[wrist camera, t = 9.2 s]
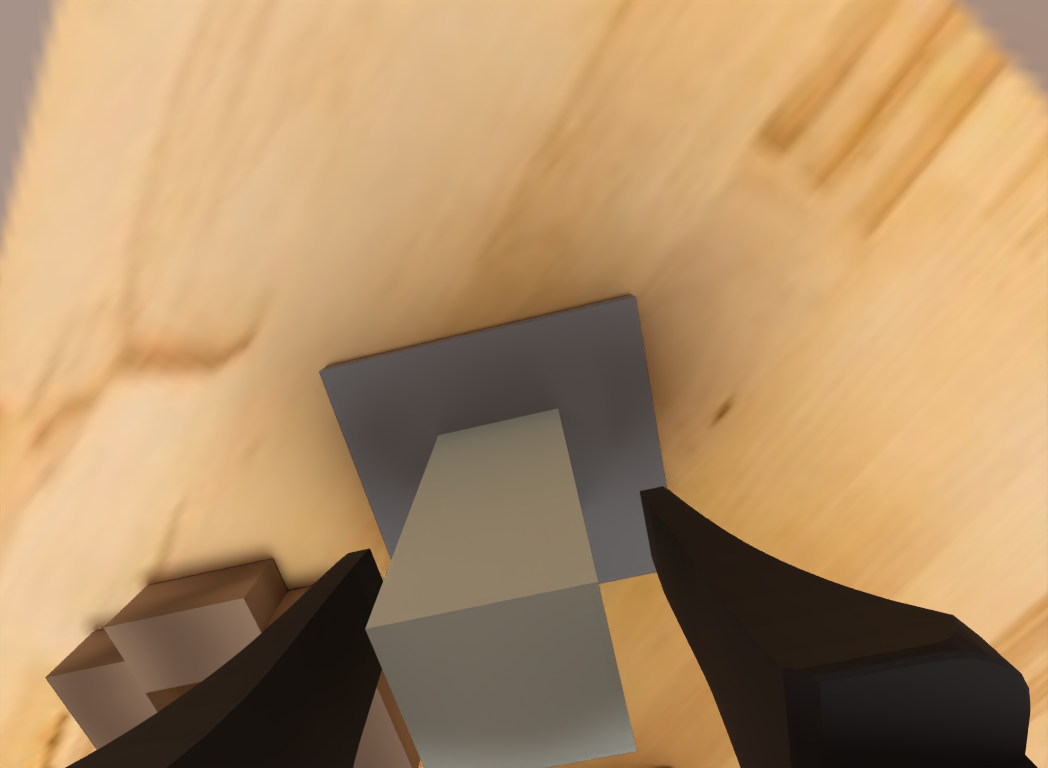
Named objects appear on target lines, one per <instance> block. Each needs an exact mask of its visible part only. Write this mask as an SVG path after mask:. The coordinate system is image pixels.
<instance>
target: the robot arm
mask: <svg viewBox="0 0 1048 768" xmlns="http://www.w3.org/2000/svg"><path fill="white" fill-rule="evenodd" d="M640 496H641V502H642V507H643V513H644V518H645V524H646V529H647V535H648V540H649V545H650V551H651V556H652V560H653V562H654V565H655V568H656V571H657V574H658V577H659V580H660V582H661V585H662V588H663V591H664V593H665V595H666V598H667V600H668V602H669V604H670V606H671V608H672V610H673V612H674V614H675V616H676V618H677V620H678V622H679V624H680V626H681V628H682V630H683V633H684V635H685V637H686V639H687V641H688V643H689V645H690V647H691V649H692V651H693V653H694V655H695V657H696V659H697V661H698V663H699V665H700V667H701V669H702V671H703V673H704V675H705V678H706V680H707V682H708V684H709V687H710V689H711V691H712V694H713V696H714V699H715V701H716V704H717V706H718V709H719V712H720V714H721V717H722V719H723V722H724V725H725V727H726V730H727V732H728V735H729V738H730V740H731V743H732V746H733V748H734V751H735V754H736V756H737V759H738V762H739V764H740V767H741V768H1037V767H1036V766H1035V765H1034V763H1033V762H1032V761H1031V760H1030V759H1029V758H1028V757H1027V756H1026V755H1025V751H1026V743H1027V735H1028V726H1029V718H1030V694H1029V688H1028V686H1027V684H1026V682H1025V680H1024V678H1023V676H1022V674H1021V673H1020V672H1019V671H1018V670H1017V669H1016V668H1015V667H1013V666H1012V665H1011V664H1010V663H1009V662H1008V661H1007V660H1005V659H1004V658H1003V657H1002V656H1001V655H1000V654H999V653H998V652H997V651H996V650H995V649H994V648H992V647H991V646H990V645H989V644H988V643H987V642H986V641H985V640H983V639H982V638H981V637H980V636H979V635H978V634H976V633H975V632H974V631H973V630H971V629H970V628H969V627H967V626H966V625H965V624H964V623H962V622H961V621H960V620H959V619H957V618H956V617H955V616H954V615H950V614H946V613H942V612H938V611H934V610H929V609H925V608H921V607H917V606H913V605H909V604H904V603H900V602H896V601H892V600H889V599H885V598H882V597H878V596H875V595H872V594H868V593H865V592H862V591H859V590H855V589H852V588H849V587H846V586H843V585H840V584H838V583H835V582H832V581H829V580H826V579H824V578H821V577H819V576H816V575H814V574H811V573H808V572H806V571H803V570H801V569H798V568H796V567H794V566H792V565H789V564H787V563H785V562H783V561H781V560H778V559H776V558H774V557H772V556H770V555H768V554H766V553H764V552H762V551H760V550H758V549H756V548H754V547H752V546H750V545H749V544H747V543H745V542H743V541H742V540H740V539H738V538H737V537H735V536H733V535H732V534H730V533H728V532H727V531H725V530H724V529H722V528H721V527H719V526H718V525H716V524H715V523H713V522H712V521H710V520H709V519H707V518H706V517H704V516H703V515H701V514H700V513H699V512H697V511H696V510H694V509H693V508H692V507H690V506H689V505H688V504H686V503H685V502H684V501H682V500H681V499H680V498H679V497H677V496H676V495H675V494H673V493H672V492H671V491H670V490H668V489H667V488H665V487H664V486H661V487H657V488H652V489H647V490H643V491H640ZM382 583H383V580H382V577H381V575H380V572H379V570H378V567H377V565H376V562H375V560H374V557H373V555H372V552H371V550H370V549H366V550H361V551H357V552H352V553H348V554H347V555H345V556H344V557H343V558H342V559H341V560H339V561H338V562H337V563H336V564H335V565H334V566H333V567H332V568H331V569H330V570H328V571H327V572H326V573H325V574H324V575H323V576H322V577H321V578H320V579H319V580H318V581H317V582H316V583H315V584H314V585H313V586H312V587H311V588H310V589H309V590H308V591H307V592H305V593H304V594H303V595H302V596H301V597H300V598H299V599H298V600H297V601H296V602H295V603H294V604H293V605H292V606H291V607H290V608H289V609H288V610H287V611H285V612H284V613H283V614H282V615H281V616H280V617H279V618H278V619H277V620H275V621H274V622H273V623H272V624H271V625H270V626H269V627H268V628H267V629H265V630H264V631H263V632H262V633H261V634H260V635H259V636H258V637H257V638H255V639H254V640H253V641H252V642H251V643H250V644H248V645H247V646H246V647H245V648H244V649H243V650H241V651H240V652H239V653H238V654H236V655H235V656H234V657H233V658H232V659H230V660H229V661H228V662H226V663H225V664H224V665H223V666H221V667H220V668H219V669H217V670H216V671H215V672H214V673H212V674H211V675H210V676H208V677H207V678H206V679H204V680H203V681H202V682H200V683H199V684H197V685H196V686H194V687H193V688H192V689H190V690H189V691H187V692H186V693H184V694H183V695H182V696H180V697H179V698H177V699H176V700H174V701H173V702H172V703H170V704H169V705H167V706H166V707H164V708H163V709H162V710H160V711H159V712H157V713H156V714H154V715H153V716H151V717H150V718H148V719H146V720H145V721H143V722H142V723H140V724H139V725H137V726H135V727H134V728H132V729H131V730H129V731H128V732H126V733H124V734H123V735H121V736H119V737H118V738H116V739H114V740H113V741H111V742H109V743H108V744H106V745H105V746H103V747H101V748H100V749H98V750H96V751H94V752H93V753H91V754H89V755H87V756H86V757H84V758H82V759H80V760H79V761H77V762H75V763H73V764H71V765H70V766H68V767H66V768H353V767H354V762H355V758H356V755H357V751H358V747H359V743H360V740H361V736H362V733H363V730H364V727H365V723H366V720H367V717H368V714H369V710H370V707H371V704H372V701H373V697H374V694H375V691H376V688H377V684H378V681H379V678H380V674H381V671H382V667H381V665H380V663H379V660H378V658H377V656H376V653H375V651H374V648H373V646H372V644H371V641H370V639H369V637H368V634H367V632H366V630H365V628H366V626H367V623H368V620H369V618H370V615H371V612H372V610H373V607H374V604H375V602H376V599H377V596H378V594H379V591H380V588H381V586H382Z"/></svg>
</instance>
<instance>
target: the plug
mask: <svg viewBox="0 0 1048 768" xmlns="http://www.w3.org/2000/svg"><path fill="white" fill-rule="evenodd" d="M365 630H366V632H367V634H368V637H369V639H370V641H371V644H372V646H373V648H374V651H375V653H376V656H377V658H378V660H379V663H380V665H381V667H382V670H383V672H384V674H385V677H386V679H387V681H388V684H389V686H390V688H391V691H392V693H393V695H394V698H395V700H396V703H397V705H398V707H399V710H400V712H401V714H402V717H403V719H404V721H405V724H406V726H407V728H408V731H409V733H410V735H411V738H412V740H413V743H414V745H415V747H416V750H417V752H418V754H419V757H420V759H421V761H422V764H423V766H424V768H548V767H553V766H559V765H564V764H570V763H575V762H581V761H586V760H592V759H597V758H603V757H608V756H614V755H619V754H625V753H630V752H636V751H637V750H636V746H635V742H634V737H633V733H632V729H631V724H630V720H629V715H628V711H627V707H626V702H625V698H624V693H623V689H622V685H621V680H620V676H619V671H618V667H617V663H616V658H615V654H614V649H613V645H612V641H611V636H610V632H609V628H608V623H607V619H606V614H605V610H604V606H603V601H602V597H601V592H600V588H599V584H598V579H597V575H596V571H595V566H594V562H593V558H592V553H591V549H590V545H589V540H588V536H587V532H586V527H585V523H584V519H583V514H582V510H581V506H580V501H579V497H578V493H577V488H576V484H575V480H574V475H573V471H572V467H571V462H570V458H569V454H568V449H567V445H566V441H565V436H564V432H563V428H562V423H561V419H560V415H559V410H558V409H553V410H549V411H544V412H540V413H535V414H531V415H527V416H522V417H518V418H513V419H509V420H504V421H500V422H495V423H491V424H486V425H482V426H478V427H473V428H469V429H464V430H460V431H455V432H451V433H446V434H442V435H438V437H437V440H436V443H435V445H434V448H433V451H432V453H431V456H430V459H429V461H428V464H427V467H426V469H425V472H424V474H423V477H422V480H421V482H420V485H419V488H418V490H417V493H416V496H415V498H414V501H413V504H412V506H411V509H410V512H409V514H408V517H407V520H406V522H405V525H404V527H403V530H402V533H401V535H400V538H399V541H398V543H397V546H396V549H395V551H394V554H393V557H392V559H391V562H390V565H389V567H388V570H387V573H386V575H385V578H384V580H383V583H382V586H381V588H380V591H379V594H378V596H377V599H376V602H375V604H374V607H373V610H372V612H371V615H370V618H369V620H368V623H367V626H366V628H365Z"/></svg>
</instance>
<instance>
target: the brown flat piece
mask: <svg viewBox="0 0 1048 768" xmlns="http://www.w3.org/2000/svg"><path fill="white" fill-rule="evenodd" d="M311 587H312V586H310V587H305V588H300V589H295V590H291V591H288V590H287V588H286V586H285V584H284V581H283V579H282V577H281V575H280V573H279V571H278V569H277V567H276V565H275V563H274V560H273V559H269V560H264V561H260V562H255V563H250V564H246V565H241V566H236V567H232V568H227V569H222V570H218V571H213V572H208V573H204V574H199V575H195V576H190V577H185V578H181V579H176V580H171V581H167V582H162V583H157V584H153V585H148V586H146V587H145V588H144V589H143V590H142V591H141V592H140V593H139V594H138V595H137V596H136V597H135V598H134V599H133V600H132V601H131V602H130V603H129V604H128V605H126V606H125V607H124V608H123V609H122V610H121V611H120V612H119V613H118V614H117V615H116V616H115V617H114V618H113V619H112V620H111V621H110V622H109V623H108V624H107V625H106V626H105V627H104V629H105V630H100V631H95V632H93V633H92V634H90V635H89V636H88V637H87V638H86V639H85V640H84V641H83V642H82V643H81V644H80V645H79V646H78V647H77V648H76V649H75V650H74V651H73V652H72V653H71V654H70V655H68V656H67V657H66V658H65V659H64V660H63V661H62V662H61V663H60V664H59V665H58V666H57V667H56V668H55V669H54V670H53V671H52V672H51V673H50V674H49V675H47V676H46V677H45V678H46V679H47V681H48V682H49V684H50V685H51V686H52V688H53V689H54V691H55V692H56V693H57V695H58V696H59V698H60V699H61V700H62V702H63V703H64V705H65V706H66V707H67V709H68V710H69V712H70V713H71V714H72V716H73V717H74V719H75V720H76V721H77V723H78V724H79V726H80V727H81V728H82V730H83V731H84V733H85V734H86V735H87V737H88V738H89V740H90V741H91V742H92V744H93V745H94V747H95V748H96V749H97V750H98V749H100V748H101V747H103V746H105V745H106V744H108V743H109V742H111V741H113V740H114V739H116V738H118V737H119V736H121V735H123V734H124V733H126V732H128V731H129V730H131V729H132V728H134V727H135V726H137V725H139V724H140V723H142V722H143V721H145V720H146V719H148V718H150V717H151V716H153V715H154V714H156V713H157V712H159V711H160V710H162V709H163V708H164V707H166V706H167V705H169V704H170V703H172V702H173V701H174V700H176V699H177V698H179V697H180V696H182V695H183V694H184V693H186V692H187V691H189V690H190V689H192V688H193V687H194V686H196V685H197V684H199V683H200V682H202V681H203V680H204V679H206V678H207V677H208V676H210V675H211V674H212V673H214V672H215V671H216V670H217V669H219V668H220V667H221V666H223V665H224V664H225V663H226V662H228V661H229V660H230V659H232V658H233V657H234V656H235V655H236V654H238V653H239V652H240V651H241V650H243V649H244V648H245V647H246V646H247V645H248V644H250V643H251V642H252V641H253V640H254V639H255V638H257V637H258V636H259V635H260V634H261V633H262V632H263V631H264V630H265V629H267V628H268V627H269V626H270V625H271V624H272V623H273V622H274V621H275V620H277V619H278V618H279V617H280V616H281V615H282V614H283V613H284V612H285V611H287V610H288V609H289V608H290V607H291V606H292V605H293V604H294V603H295V602H296V601H297V600H298V599H299V598H300V597H301V596H302V595H303V594H304V593H305V592H307V591H308V590H309V589H310V588H311ZM419 761H420V757H419V754H418V752H417V750H416V747H415V745H414V743H413V740H412V738H411V735H410V733H409V731H408V728H407V726H406V724H405V721H404V719H403V717H402V714H401V712H400V710H399V707H398V705H397V703H396V700H395V698H394V695H393V693H392V691H391V688H390V686H389V684H388V681H387V679H386V677H385V674H384V672H383V670H382V671H381V674H380V678H379V681H378V684H377V688H376V691H375V694H374V697H373V701H372V704H371V707H370V710H369V714H368V717H367V720H366V723H365V727H364V730H363V733H362V736H361V740H360V743H359V747H358V751H357V755H356V758H355V762H354V767H353V768H418V766H419Z"/></svg>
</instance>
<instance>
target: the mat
mask: <svg viewBox="0 0 1048 768" xmlns="http://www.w3.org/2000/svg"><path fill="white" fill-rule="evenodd" d="M319 373H320V376H321V378H322V381H323V383H324V386H325V389H326V391H327V394H328V396H329V399H330V402H331V404H332V407H333V409H334V412H335V415H336V417H337V420H338V423H339V425H340V428H341V430H342V433H343V436H344V438H345V441H346V443H347V446H348V449H349V451H350V454H351V456H352V459H353V462H354V464H355V467H356V469H357V472H358V475H359V477H360V480H361V482H362V485H363V488H364V490H365V493H366V496H367V498H368V501H369V503H370V506H371V509H372V511H373V514H374V516H375V519H376V522H377V524H378V527H379V529H380V532H381V535H382V537H383V540H384V542H385V545H386V548H387V550H388V553H389V555H390V558H391V559H392V557H393V554H394V551H395V549H396V546H397V543H398V541H399V538H400V535H401V533H402V530H403V527H404V525H405V522H406V520H407V517H408V514H409V512H410V509H411V506H412V504H413V501H414V498H415V496H416V493H417V490H418V488H419V485H420V482H421V480H422V477H423V474H424V472H425V469H426V467H427V464H428V461H429V459H430V456H431V453H432V451H433V448H434V445H435V443H436V440H437V437H438V435H442V434H446V433H451V432H455V431H460V430H464V429H469V428H473V427H478V426H482V425H486V424H491V423H495V422H500V421H504V420H509V419H513V418H518V417H522V416H527V415H531V414H535V413H540V412H544V411H549V410H553V409H558V410H559V415H560V419H561V423H562V428H563V432H564V436H565V441H566V445H567V449H568V454H569V458H570V462H571V467H572V471H573V475H574V480H575V484H576V488H577V493H578V497H579V501H580V506H581V510H582V514H583V519H584V523H585V527H586V532H587V536H588V540H589V545H590V549H591V553H592V558H593V562H594V566H595V571H596V575H597V579H598V584H600V583H605V582H610V581H615V580H620V579H625V578H630V577H634V576H639V575H644V574H649V573H654V572H657V571H656V568H655V565H654V562H653V560H652V556H651V551H650V545H649V540H648V535H647V529H646V524H645V518H644V513H643V507H642V502H641V496H640V491H643V490H647V489H652V488H657V487H661V486H664V487H665V488H667V486H666V480H665V474H664V468H663V462H662V455H661V449H660V443H659V437H658V431H657V425H656V419H655V413H654V406H653V400H652V394H651V388H650V382H649V376H648V370H647V363H646V357H645V351H644V345H643V339H642V333H641V327H640V320H639V314H638V308H637V302H636V297H635V296H633V295H626V296H622V297H618V298H614V299H609V300H605V301H601V302H597V303H592V304H588V305H584V306H580V307H576V308H571V309H567V310H563V311H559V312H554V313H550V314H546V315H542V316H538V317H533V318H529V319H525V320H521V321H516V322H512V323H508V324H504V325H500V326H495V327H491V328H487V329H483V330H478V331H474V332H470V333H466V334H462V335H457V336H453V337H449V338H445V339H440V340H436V341H432V342H428V343H424V344H419V345H415V346H411V347H407V348H402V349H398V350H394V351H390V352H386V353H381V354H377V355H373V356H369V357H364V358H360V359H356V360H352V361H348V362H343V363H339V364H335V365H331V366H326V367H325V368H324V369H322V370H321V371H319Z"/></svg>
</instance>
